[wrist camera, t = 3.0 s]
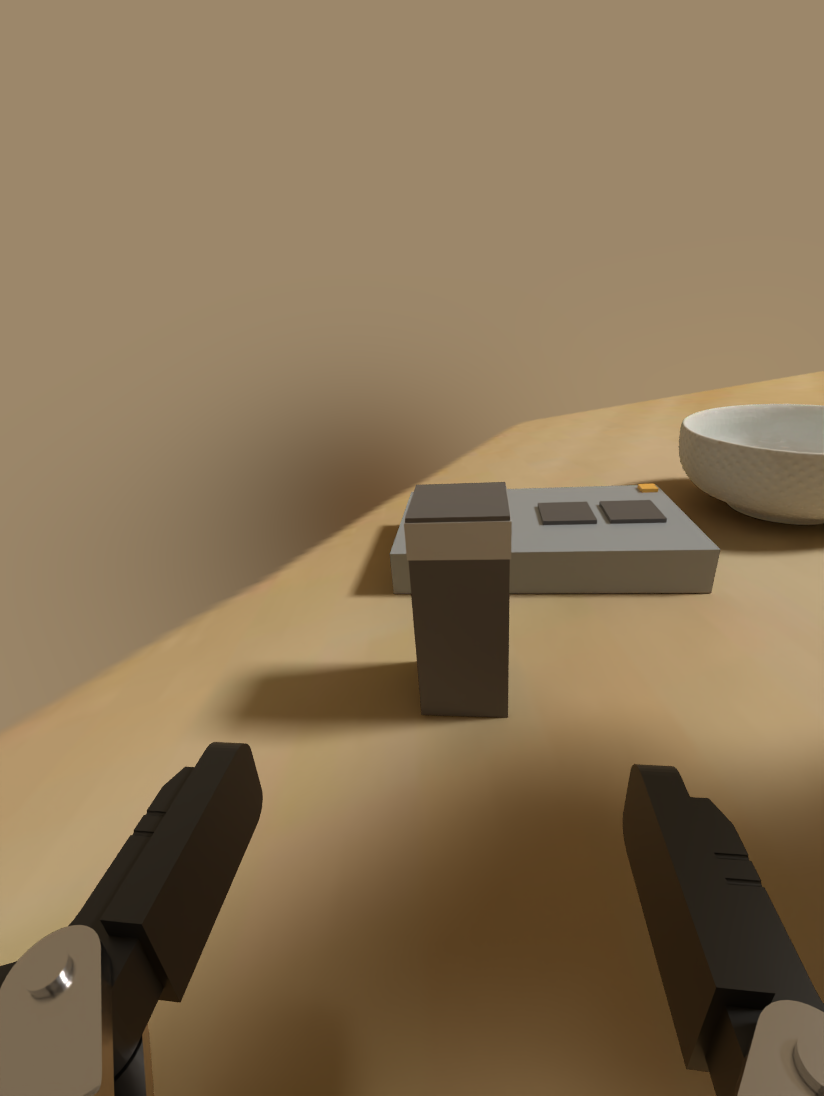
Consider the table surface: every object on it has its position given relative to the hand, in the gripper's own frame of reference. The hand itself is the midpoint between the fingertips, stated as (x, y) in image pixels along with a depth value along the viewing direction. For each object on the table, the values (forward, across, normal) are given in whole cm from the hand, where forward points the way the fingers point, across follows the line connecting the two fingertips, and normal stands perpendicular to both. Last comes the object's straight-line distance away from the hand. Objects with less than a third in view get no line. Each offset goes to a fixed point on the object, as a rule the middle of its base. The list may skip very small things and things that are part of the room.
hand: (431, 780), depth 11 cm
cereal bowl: (+35, -26, +8) cm, 45 cm away
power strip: (+27, -5, +8) cm, 29 cm away
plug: (+12, 0, +8) cm, 15 cm away
